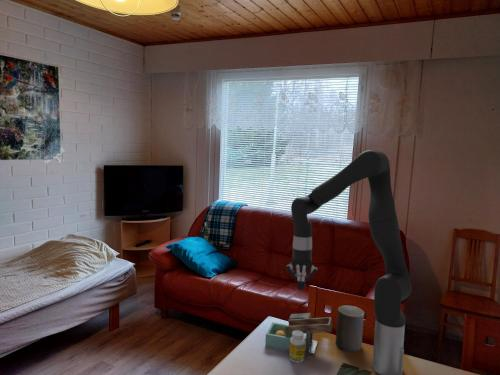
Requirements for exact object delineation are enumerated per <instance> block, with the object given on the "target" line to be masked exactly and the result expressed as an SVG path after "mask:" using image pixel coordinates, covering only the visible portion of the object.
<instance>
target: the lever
mask: <svg viewBox="0 0 500 375" xmlns="http://www.w3.org/2000/svg"><path fill="white" fill-rule="evenodd" d="M287 321H288V324H287V325H288V326H285V329H286V334H292V332H293V331H295V330H299V331H302V332H303V333H304V334H306V333H307V329H308V330H310V333H313V334H322V333H323V334H325V333H332V330H333V325H334V324H333V319H332V317H331V316H329V317H326V316H325V317H314V318H313V317H312V314H311V312H303V313H290V316H289V319H288V320H287Z"/></svg>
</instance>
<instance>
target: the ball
mask: <svg viewBox="0 0 500 375" xmlns="http://www.w3.org/2000/svg"><path fill="white" fill-rule="evenodd" d="M275 335H279V336H284V337H286V335H285V333H284V332H283V331H281V330H280V331H277V332H276V334H275Z"/></svg>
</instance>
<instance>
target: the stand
mask: <svg viewBox="0 0 500 375" xmlns="http://www.w3.org/2000/svg"><path fill="white" fill-rule="evenodd" d="M305 335H306V336H305V338H304V339H305V355H308V356H311V357H312V356H313V357H314V356H315V353H316V349H317V346H318V340H313V337H314V333H310V330H308V329H307V333H305Z"/></svg>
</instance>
